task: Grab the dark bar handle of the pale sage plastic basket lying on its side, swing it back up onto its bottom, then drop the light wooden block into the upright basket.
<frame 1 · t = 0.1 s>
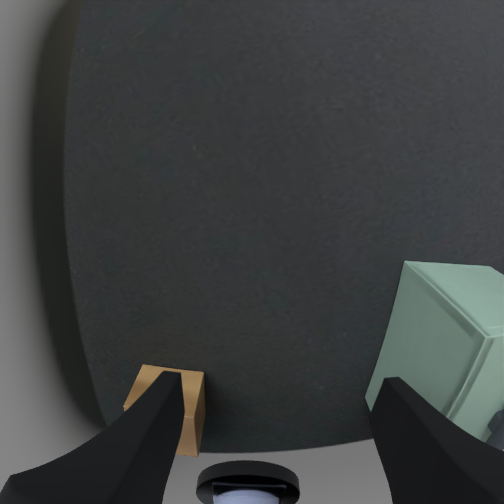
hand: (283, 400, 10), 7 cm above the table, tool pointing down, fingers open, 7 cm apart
block: (175, 390, 19), on the table
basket: (464, 380, 13), point 5 cm above the table, hinge at -90.0°
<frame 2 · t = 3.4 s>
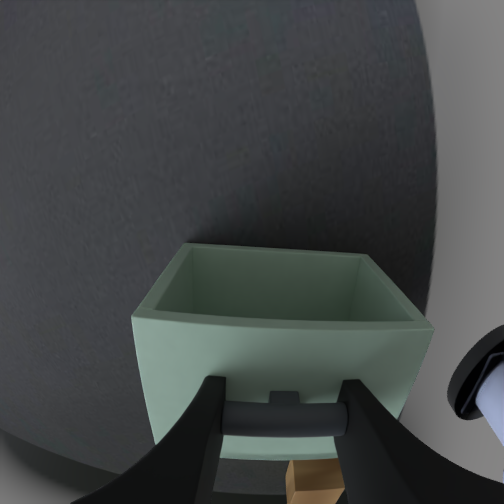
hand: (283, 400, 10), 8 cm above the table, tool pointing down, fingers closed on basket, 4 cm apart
block: (310, 464, 23), on the table
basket: (276, 357, 13), point 5 cm above the table, hinge at -90.0°, touching gripper
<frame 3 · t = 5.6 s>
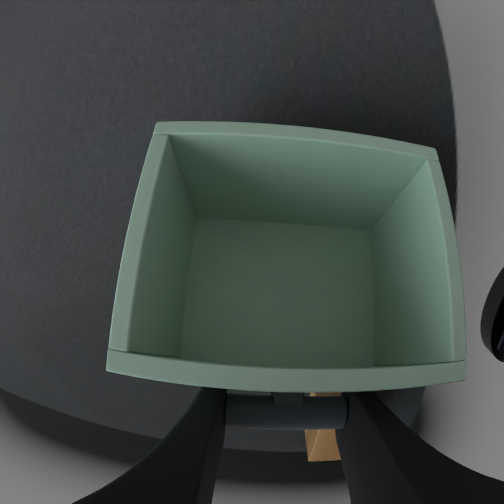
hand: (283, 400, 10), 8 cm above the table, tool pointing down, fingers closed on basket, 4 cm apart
block: (335, 402, 20), on the table
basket: (290, 295, 11), point 6 cm above the table, hinge at -37.9°, touching gripper
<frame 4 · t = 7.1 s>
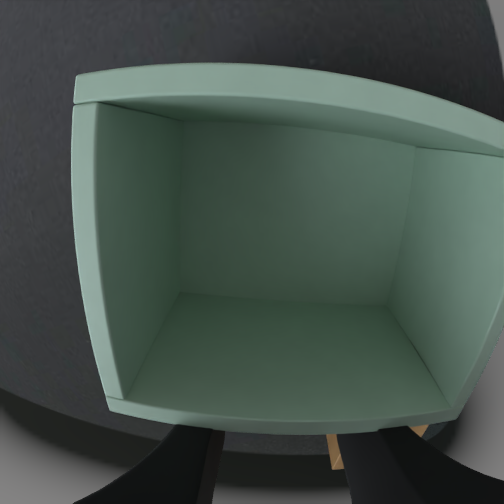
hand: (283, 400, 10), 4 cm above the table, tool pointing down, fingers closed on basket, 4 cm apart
block: (365, 388, 15), on the table
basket: (303, 268, 9), point 3 cm above the table, hinge at 0.3°, touching gripper
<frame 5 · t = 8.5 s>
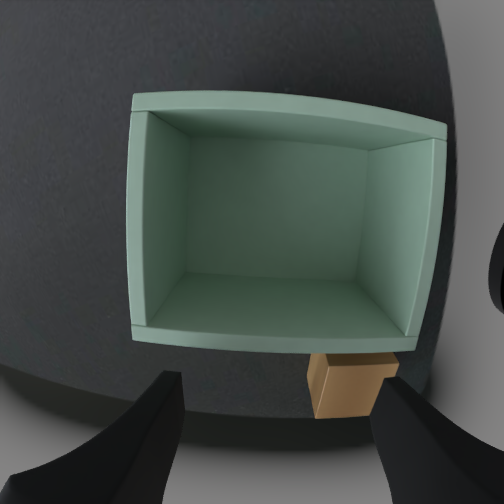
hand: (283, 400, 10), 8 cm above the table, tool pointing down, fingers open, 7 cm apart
block: (341, 351, 19), on the table
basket: (280, 236, 13), point 4 cm above the table, hinge at -5.3°
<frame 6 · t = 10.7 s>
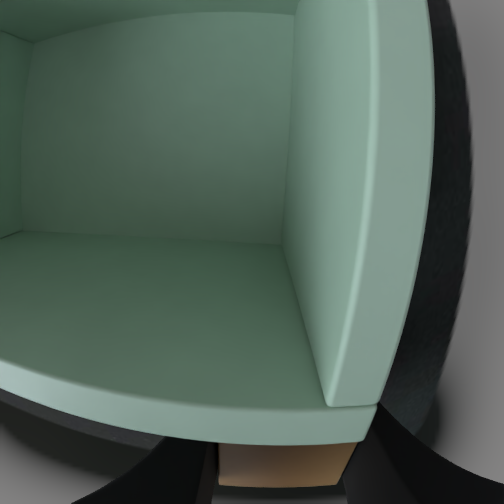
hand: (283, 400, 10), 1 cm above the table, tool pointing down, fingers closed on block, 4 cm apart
block: (280, 375, 11), on the table, touching gripper
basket: (79, 143, 5), point 4 cm above the table, hinge at -2.3°
when the fingers open (5 cm above the table, at t = 14.5 s): block drops 3 cm, resting on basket.
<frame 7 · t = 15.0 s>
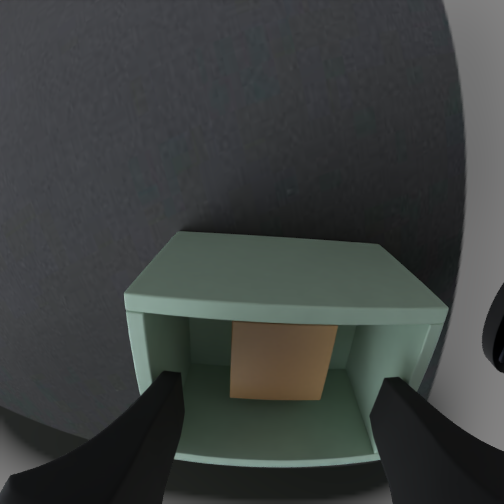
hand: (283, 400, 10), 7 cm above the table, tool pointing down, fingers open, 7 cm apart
block: (275, 317, 16), point 1 cm above the table, touching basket
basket: (276, 364, 13), point 4 cm above the table, hinge at 0.0°, touching block
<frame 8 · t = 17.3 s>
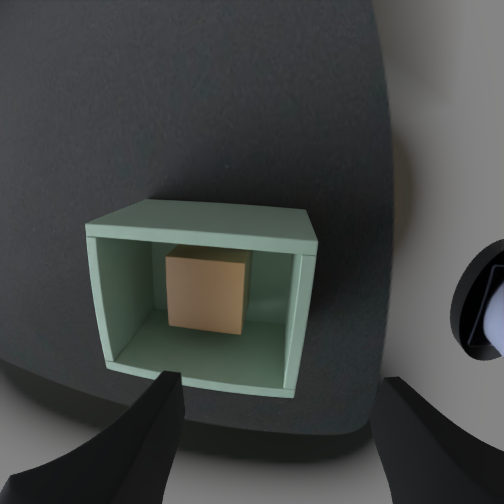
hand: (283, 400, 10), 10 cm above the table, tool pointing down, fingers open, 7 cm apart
block: (218, 269, 20), point 1 cm above the table, touching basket
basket: (207, 301, 17), point 4 cm above the table, hinge at 0.0°, touching block
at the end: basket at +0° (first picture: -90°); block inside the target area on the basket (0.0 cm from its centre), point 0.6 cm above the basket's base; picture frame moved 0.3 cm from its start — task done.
